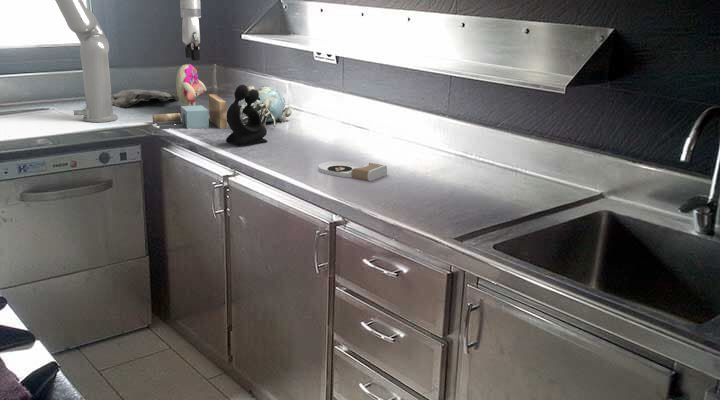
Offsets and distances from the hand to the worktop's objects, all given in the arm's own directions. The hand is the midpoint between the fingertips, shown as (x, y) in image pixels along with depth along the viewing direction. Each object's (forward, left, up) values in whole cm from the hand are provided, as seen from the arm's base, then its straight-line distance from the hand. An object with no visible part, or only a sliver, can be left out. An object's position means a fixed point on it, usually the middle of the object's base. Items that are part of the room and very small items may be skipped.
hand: (192, 59), depth 270 cm
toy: (+1, +10, -23) cm, 25 cm away
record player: (+26, -95, -24) cm, 101 cm away
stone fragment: (-13, +38, -24) cm, 46 cm away
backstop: (+6, -15, -23) cm, 28 cm away
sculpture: (+23, -20, -23) cm, 38 cm away
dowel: (-12, -7, -23) cm, 27 cm away
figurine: (+8, -49, -23) cm, 55 cm away
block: (-3, -15, -23) cm, 28 cm away
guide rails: (-12, -15, -23) cm, 30 cm away
